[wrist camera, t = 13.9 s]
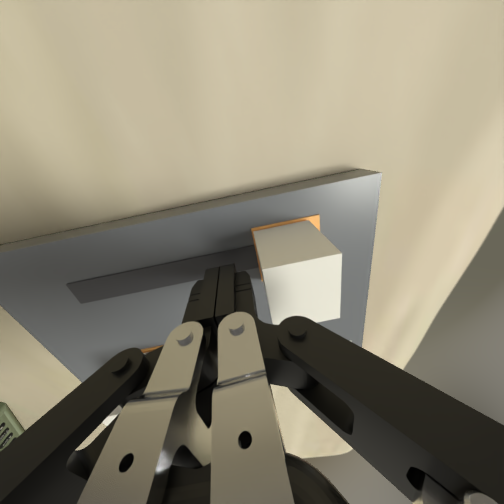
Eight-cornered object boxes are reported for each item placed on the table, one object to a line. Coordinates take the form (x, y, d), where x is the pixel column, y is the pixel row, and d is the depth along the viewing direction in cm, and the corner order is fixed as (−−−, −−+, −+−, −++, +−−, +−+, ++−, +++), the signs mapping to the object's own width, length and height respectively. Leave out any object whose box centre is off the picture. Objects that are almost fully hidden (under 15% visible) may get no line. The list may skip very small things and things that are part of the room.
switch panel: (-8, 246, 13) (-48, 263, 11) (361, 168, 13) (383, 172, 11) (112, 377, 20) (100, 401, 18) (350, 330, 20) (362, 350, 18)
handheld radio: (13, 399, 21) (70, 486, 32) (-24, 398, 20) (47, 486, 32) (-79, 500, 15) (31, 562, 26) (-133, 501, 14) (2, 564, 26)
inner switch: (253, 231, 11) (262, 269, 8) (308, 220, 11) (342, 253, 8) (263, 281, 13) (274, 331, 10) (311, 271, 13) (340, 318, 10)
